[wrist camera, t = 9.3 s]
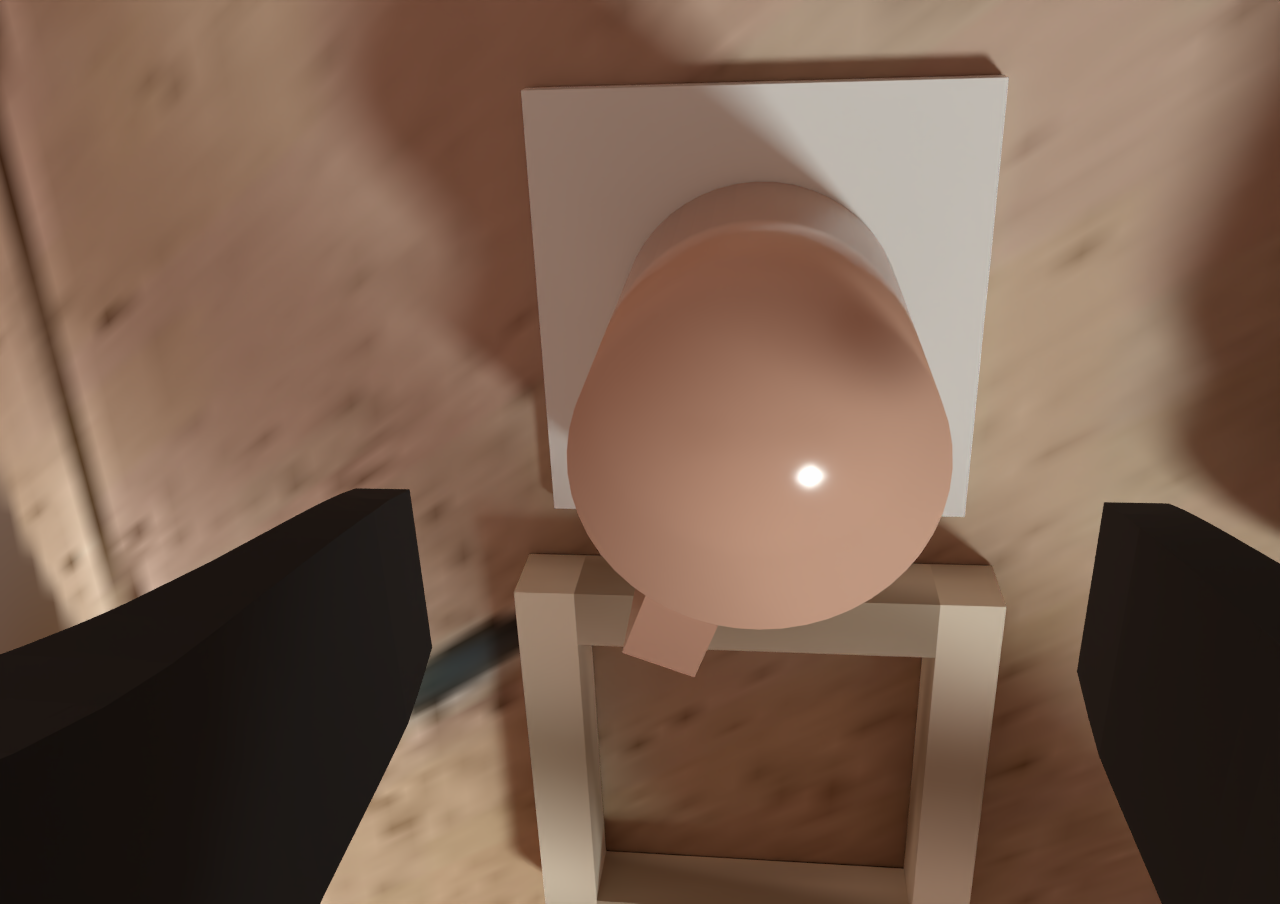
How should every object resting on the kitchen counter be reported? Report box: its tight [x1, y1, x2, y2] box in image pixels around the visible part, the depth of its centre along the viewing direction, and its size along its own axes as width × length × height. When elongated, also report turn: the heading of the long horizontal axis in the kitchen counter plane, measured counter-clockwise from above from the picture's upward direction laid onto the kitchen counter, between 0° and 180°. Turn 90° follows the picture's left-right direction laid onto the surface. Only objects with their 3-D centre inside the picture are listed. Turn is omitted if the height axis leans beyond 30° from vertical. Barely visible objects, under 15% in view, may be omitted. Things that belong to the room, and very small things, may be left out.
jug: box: [567, 182, 953, 677], centre depth 17 cm, size 5×7×6 cm
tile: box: [521, 75, 1009, 517], centre depth 20 cm, size 8×8×1 cm
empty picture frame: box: [514, 554, 1006, 904], centre depth 23 cm, size 9×9×2 cm
